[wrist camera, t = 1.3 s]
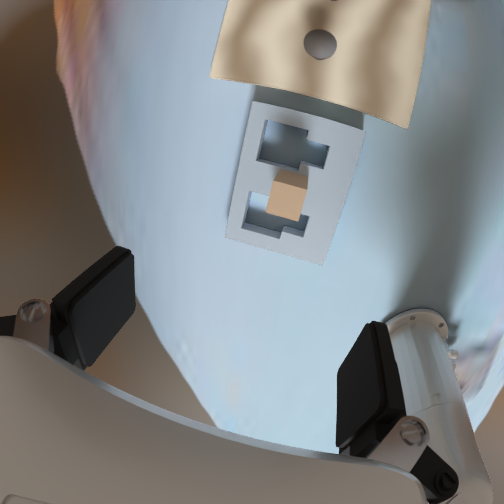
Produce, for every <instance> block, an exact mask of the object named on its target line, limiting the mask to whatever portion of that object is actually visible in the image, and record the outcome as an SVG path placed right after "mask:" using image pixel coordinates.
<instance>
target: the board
mask: <svg viewBox="0 0 504 504" xmlns="http://www.w3.org/2000/svg"><path fill="white" fill-rule="evenodd" d="M430 6H431V0H229V2H228V5H227V9H226V12H225V16H224V20H223V23H222V27H221V31H220V35H219V39H218V43H217V47H216V51H215V55H214V59H213V64H212V68H211V72H210V77H211V78H214V79H222V80H229V81H236V82H242V83H249V84H254V85H260V86H265V87H270V88H275V89H280V90H284V91H289V92H293V93H297V94H301V95H305V96H309V97H313V98H317V99H320V100H324V101H328V102H331V103H334V104H338V105H341V106H344V107H347V108H350V109H354V110H357V111H360V112H362V113H365V114H368V115H371V116H374V117H376V118H379V119H382V120H384V121H387V122H390V123H392V124H395V125H397V126H400V127H402V128H405V129H408V126H409V122H410V118H411V114H412V110H413V106H414V102H415V97H416V93H417V88H418V84H419V79H420V74H421V69H422V63H423V58H424V52H425V46H426V39H427V32H428V24H429V16H430Z"/></svg>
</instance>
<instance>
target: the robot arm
mask: <svg viewBox="0 0 504 504" xmlns="http://www.w3.org/2000/svg"><path fill="white" fill-rule="evenodd" d="M52 301H53V302H52V303H51V304H50V305H49V304H48V303H47V302H46V301H45V300H42V299H30V300H28V301H26V302H24V303H23V304H22V305H21V306H20V307H19V308H18V311H17V314H16V315H12V316H5V317H0V504H492V502H493V489H492V485H491V481H490V478H489V475H488V472H487V470H486V467H485V464H484V462H483V459H482V457H481V454H480V451H479V448H478V445H477V442H476V439H475V436H474V432H473V429H472V425H471V422H470V419H469V415H468V412H467V408H466V405H465V402H464V398H463V395H462V392H461V389H460V386H459V383H458V380H457V377H456V374H455V371H454V369H455V366H456V363H455V361H452V360H450V358H452V359H456V358H457V357H458V354H459V353H458V351H457V350H450V349H449V347H448V345H447V342H446V341H447V338H448V327H447V324H446V322H445V320H444V318H443V317H442V316H441V315H440V314H439V313H437V312H435V311H433V310H430V309H412V310H409V311H405V312H403V313H400V314H398V315H396V316H395V317H393V318H391V319H390V320H389V321H387V322H386V323H381V322H376V321H372V322H371V323H370V324H369V323H367V324H366V325H365V326H364V328H363V330H362V332H361V333H360V335H359V337H358V338H357V340H356V342H355V343H354V345H353V347H352V348H351V350H350V352H349V353H348V355H347V357H346V358H345V360H344V361H343V363H342V364H341V366H340V368H339V370H338V373H337V423H336V447H339V454H332V453H325V452H319V451H313V450H307V449H301V448H296V447H291V446H285V445H281V444H276V443H271V442H267V441H263V440H258V439H254V438H250V437H247V436H243V435H239V434H236V433H232V432H229V431H225V430H222V429H218V428H215V427H212V426H209V425H206V424H203V423H200V422H197V421H194V420H191V419H188V418H186V417H183V416H180V415H178V414H175V413H172V412H169V411H167V410H165V409H162V408H160V407H157V406H155V405H152V404H150V403H148V402H146V401H143V400H141V399H139V398H137V397H134V396H132V395H130V394H128V393H126V392H124V391H121V390H119V389H117V388H115V387H113V386H111V385H109V384H107V383H105V382H103V381H102V380H100V379H98V378H96V377H94V376H92V375H90V374H89V373H87V372H85V371H84V370H85V369H86V367H87V366H88V367H90V366H91V365H92V364H93V363H94V362H95V361H96V359H97V358H98V357H99V355H100V354H101V353H102V352H103V350H104V349H105V348H106V346H107V345H108V344H109V343H110V341H111V340H112V339H113V338H114V336H115V335H116V334H117V333H118V332H119V330H120V329H121V328H122V327H123V325H124V324H125V323H126V322H127V320H128V319H129V318H130V317H131V316H132V314H133V313H134V311H135V306H136V304H135V279H134V255H133V254H131V250H129V249H126V248H124V247H121V246H116V247H115V248H113V249H112V250H111V251H109V252H108V253H107V254H106V255H104V256H103V257H102V258H101V259H99V260H98V261H97V262H95V263H94V264H93V265H92V266H90V267H89V268H88V269H87V270H85V271H84V272H83V273H82V274H81V275H79V276H78V277H77V278H76V279H75V280H73V281H72V282H71V283H70V284H69V285H67V286H66V287H65V288H64V289H63V290H62V291H60V292H59V293H58V294H57V295H56V296H55V297H54V298H52Z"/></svg>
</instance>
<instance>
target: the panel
mask: <svg viewBox="0 0 504 504" xmlns="http://www.w3.org/2000/svg"><path fill="white" fill-rule="evenodd" d="M268 120H270V121H274V122H278V123H282V124H286V125H290V126H294V127H298V128H302V129H306V130H309V132H308V136H307V140H310V141H314V142H317V143H321V144H324V145H328V146H329V147H328V150H327V154H326V158H325V161H324V165H323V167H322V166H319V165H315V164H312V163H308V162H305V161H301V163H300V166H299V169H297V168H294V167H290V166H286V165H283V164H279V163H275V162H271V161H267V160H263V159H259V157H260V152H261V148H262V144H263V139H264V135H265V130H266V126H267V122H268ZM365 134H366V131H363V130H360V129H357V128H354V127H351V126H348V125H345V124H342V123H339V122H336V121H332V120H329V119H326V118H322V117H319V116H315V115H311V114H308V113H304V112H300V111H296V110H292V109H288V108H283V107H279V106H275V105H270V104H265V103H260V102H255V101H252V106H251V110H250V115H249V119H248V124H247V128H246V133H245V138H244V142H243V147H242V152H241V157H240V161H239V166H238V171H237V176H236V181H235V186H234V191H233V196H232V201H231V206H230V212H229V217H228V222H227V227H226V233H225V238H229V239H232V240H236V241H239V242H243V243H246V244H250V245H253V246H257V247H260V248H264V249H267V250H271V251H274V252H278V253H281V254H284V255H288V256H291V257H295V258H298V259H302V260H305V261H309V262H312V263H316V264H319V265H322V266H323V264H324V261H325V258H326V255H327V253H328V250H329V247H330V244H331V242H332V239H333V236H334V233H335V230H336V227H337V225H338V222H339V219H340V216H341V213H342V210H343V207H344V204H345V201H346V198H347V195H348V191H349V188H350V185H351V182H352V179H353V175H354V172H355V169H356V166H357V162H358V159H359V155H360V152H361V148H362V145H363V141H364V138H365ZM252 192H256V193H260V194H264V195H268V196H269V200H268V204H267V208H266V213H269V214H273V215H277V216H280V217H284V218H287V219H291V220H294V221H299V217H300V214H303V215H306V216H308V220H307V223H306V226H305V230H304V231H302V230H299V229H295V228H292V227H288V226H285V225H284V226H283V230H282V233H281V232H278V231H274V230H270V229H267V228H263V227H260V226H256V225H253V224H249V223H245V220H246V215H247V211H248V206H249V202H250V197H251V193H252Z"/></svg>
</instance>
